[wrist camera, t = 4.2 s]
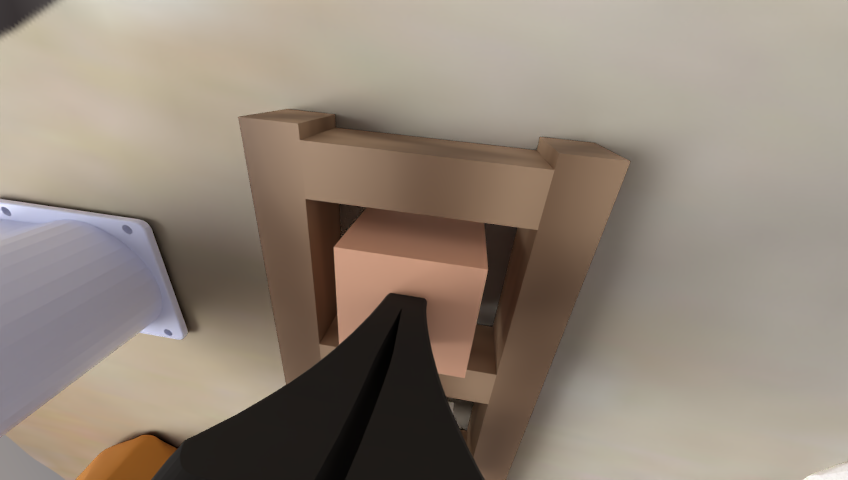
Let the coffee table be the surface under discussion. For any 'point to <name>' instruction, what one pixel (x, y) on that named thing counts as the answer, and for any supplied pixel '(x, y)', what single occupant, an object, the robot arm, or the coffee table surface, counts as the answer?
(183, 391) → the coffee table surface
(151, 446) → the coffee package
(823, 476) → the cloth
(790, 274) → the coffee table surface
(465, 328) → the terracotta block
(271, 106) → the coffee table surface
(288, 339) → the block rack
